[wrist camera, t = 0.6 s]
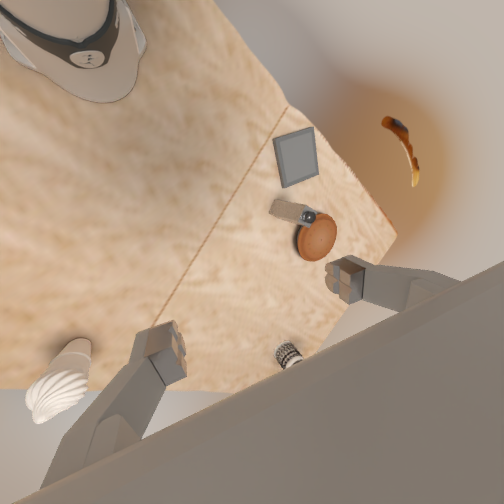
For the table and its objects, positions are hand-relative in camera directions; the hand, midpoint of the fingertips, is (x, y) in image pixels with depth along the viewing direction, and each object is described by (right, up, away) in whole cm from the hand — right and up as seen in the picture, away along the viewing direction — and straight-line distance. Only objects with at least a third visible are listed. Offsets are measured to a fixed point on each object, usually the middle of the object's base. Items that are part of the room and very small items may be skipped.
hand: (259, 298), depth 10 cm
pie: (+19, +8, +54) cm, 57 cm away
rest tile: (+12, +28, +42) cm, 52 cm away
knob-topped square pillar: (+7, +14, +45) cm, 47 cm away
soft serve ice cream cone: (-40, -19, +34) cm, 56 cm away
